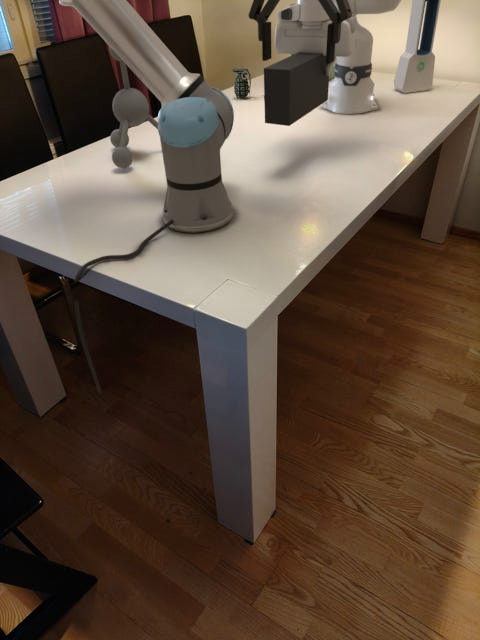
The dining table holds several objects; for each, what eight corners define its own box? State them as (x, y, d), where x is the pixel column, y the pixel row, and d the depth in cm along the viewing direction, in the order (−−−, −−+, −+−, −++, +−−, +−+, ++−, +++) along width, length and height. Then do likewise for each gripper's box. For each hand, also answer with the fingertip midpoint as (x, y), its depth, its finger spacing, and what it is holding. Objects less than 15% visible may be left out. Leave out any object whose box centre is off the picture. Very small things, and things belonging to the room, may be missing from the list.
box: (289, 126, 114) (289, 70, 106) (264, 123, 117) (263, 68, 109) (327, 100, 129) (330, 49, 122) (305, 98, 132) (306, 48, 125)
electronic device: (402, 93, 181) (416, -3, 162) (392, 89, 186) (404, -5, 168) (432, 89, 183) (449, -6, 165) (421, 85, 189) (436, -8, 170)
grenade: (232, 99, 186) (230, 70, 180) (236, 95, 190) (234, 67, 184) (249, 99, 184) (248, 70, 178) (252, 96, 189) (251, 67, 182)
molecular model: (194, 159, 136) (181, 36, 117) (116, 174, 130) (89, 47, 112) (172, 136, 153) (158, 26, 135) (102, 148, 148) (77, 35, 129)
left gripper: (377, -81, 82) (364, 60, 95) (247, -71, 92) (250, 54, 105) (364, -81, 77) (352, 67, 90) (227, -71, 87) (234, 61, 100)
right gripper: (361, 9, 113) (356, 74, 122) (282, 8, 122) (282, 69, 131) (352, 13, 109) (346, 80, 118) (271, 12, 118) (271, 74, 127)
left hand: (297, 61), depth 97 cm, fingers open, 13 cm apart
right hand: (312, 74), depth 124 cm, fingers closed on box, 6 cm apart
